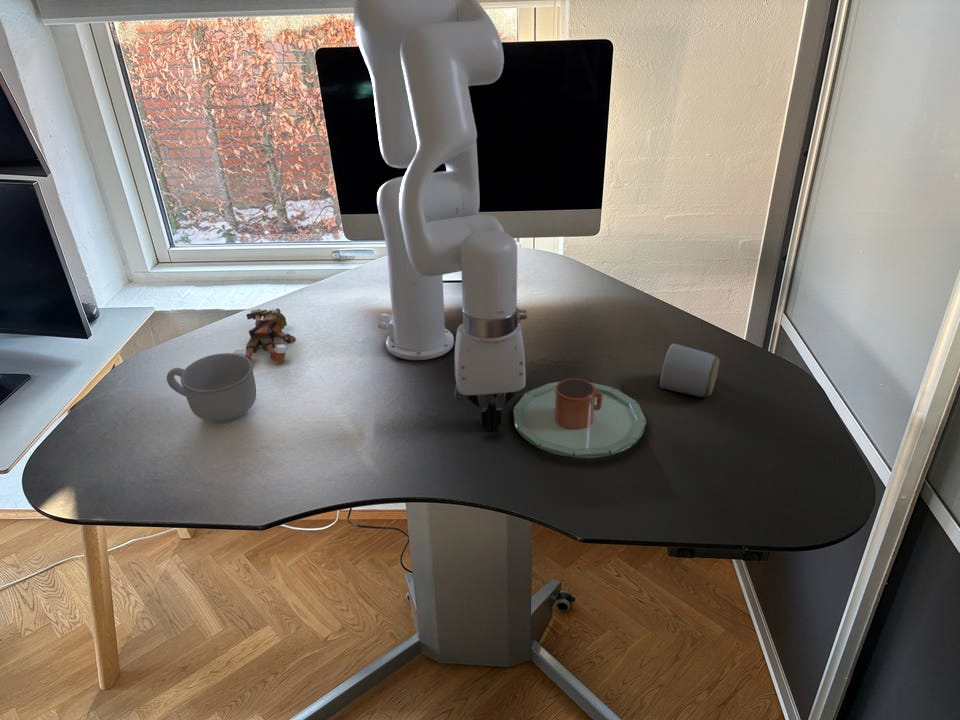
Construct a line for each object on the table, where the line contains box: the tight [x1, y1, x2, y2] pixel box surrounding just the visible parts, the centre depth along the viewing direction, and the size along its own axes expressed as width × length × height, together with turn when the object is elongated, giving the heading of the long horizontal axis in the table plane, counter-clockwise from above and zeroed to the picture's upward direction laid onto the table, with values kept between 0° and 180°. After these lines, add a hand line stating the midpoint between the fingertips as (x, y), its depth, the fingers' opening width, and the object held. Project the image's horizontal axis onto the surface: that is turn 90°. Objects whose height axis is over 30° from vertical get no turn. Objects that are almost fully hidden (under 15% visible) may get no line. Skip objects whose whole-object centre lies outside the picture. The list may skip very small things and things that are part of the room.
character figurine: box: [233, 307, 297, 364], centre depth 136 cm, size 12×5×18 cm
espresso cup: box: [554, 378, 603, 430], centre depth 110 cm, size 7×6×6 cm
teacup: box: [166, 352, 257, 423], centre depth 115 cm, size 14×11×8 cm
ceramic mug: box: [659, 343, 720, 398], centre depth 119 cm, size 11×8×8 cm
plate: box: [512, 381, 647, 459], centre depth 111 cm, size 20×20×2 cm
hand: (490, 427), depth 110 cm, fingers closed
